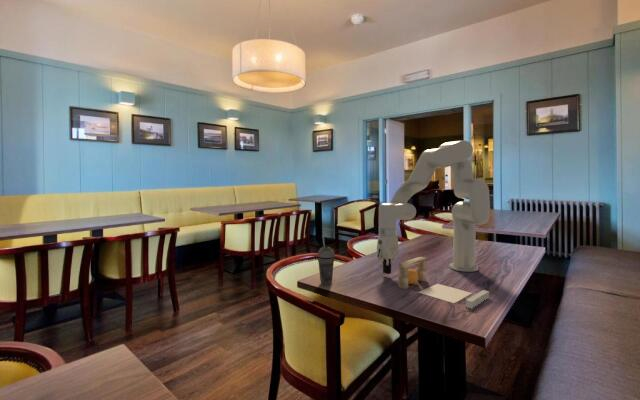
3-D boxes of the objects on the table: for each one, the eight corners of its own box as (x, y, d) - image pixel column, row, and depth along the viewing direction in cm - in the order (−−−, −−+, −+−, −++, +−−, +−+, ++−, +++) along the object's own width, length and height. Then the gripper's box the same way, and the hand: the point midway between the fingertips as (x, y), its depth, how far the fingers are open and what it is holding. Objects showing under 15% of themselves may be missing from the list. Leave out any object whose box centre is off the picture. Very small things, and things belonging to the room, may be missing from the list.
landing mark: (437, 284, 133) (437, 283, 133) (472, 293, 123) (472, 293, 123) (418, 292, 124) (418, 292, 124) (454, 303, 114) (454, 303, 114)
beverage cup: (333, 287, 131) (333, 238, 129) (315, 286, 132) (315, 237, 130) (336, 281, 138) (336, 234, 136) (319, 280, 139) (318, 234, 138)
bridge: (398, 287, 130) (399, 263, 129) (419, 278, 140) (420, 256, 139) (405, 289, 128) (405, 264, 127) (426, 280, 138) (426, 257, 137)
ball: (420, 283, 134) (407, 281, 138) (420, 269, 134) (407, 267, 138) (413, 286, 130) (400, 283, 134) (413, 271, 130) (400, 269, 134)
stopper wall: (483, 296, 120) (483, 289, 120) (488, 298, 118) (489, 291, 118) (465, 307, 111) (465, 300, 111) (471, 309, 109) (471, 301, 109)
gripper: (383, 235, 134) (383, 279, 136) (404, 230, 144) (404, 271, 146) (369, 232, 140) (369, 274, 142) (390, 228, 150) (390, 267, 151)
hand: (387, 273), depth 144 cm, fingers closed
